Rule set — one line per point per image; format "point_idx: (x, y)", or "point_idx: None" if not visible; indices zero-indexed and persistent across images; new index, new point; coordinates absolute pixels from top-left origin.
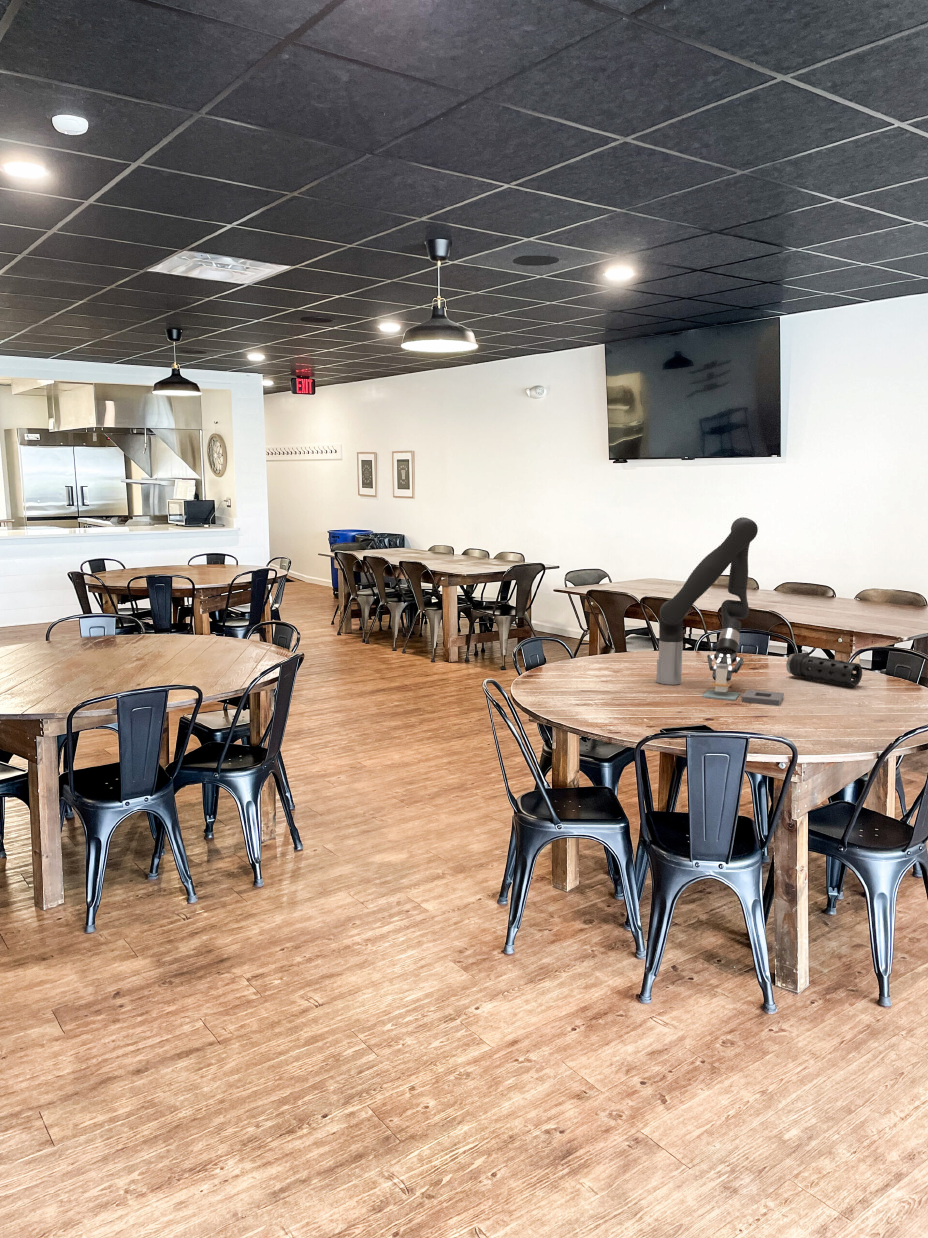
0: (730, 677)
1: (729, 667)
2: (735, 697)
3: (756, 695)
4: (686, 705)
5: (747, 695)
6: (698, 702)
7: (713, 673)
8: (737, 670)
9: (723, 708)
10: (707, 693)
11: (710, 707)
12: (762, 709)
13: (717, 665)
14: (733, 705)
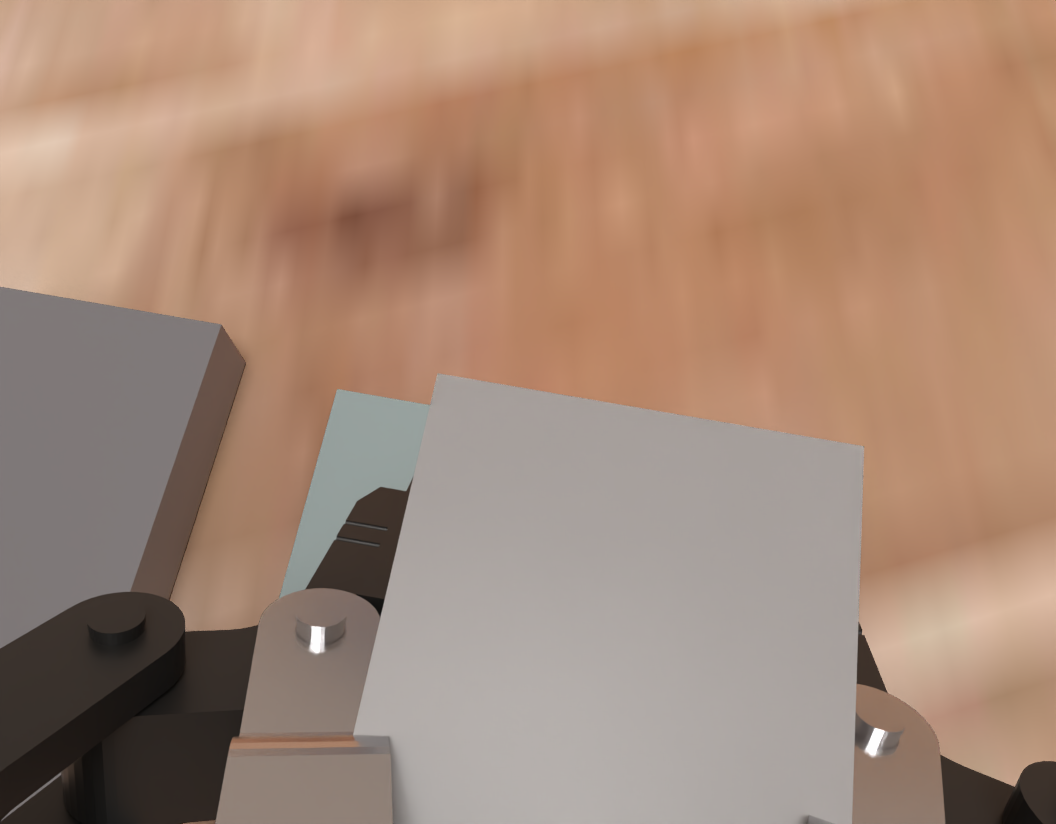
0: (359, 501)
1: (340, 672)
2: (318, 518)
3: None
4: (948, 33)
5: (112, 425)
6: (840, 198)
7: None
8: (57, 799)
9: (512, 4)
10: None
11: (664, 12)
12: (37, 59)
13: (809, 439)
14: (383, 158)
